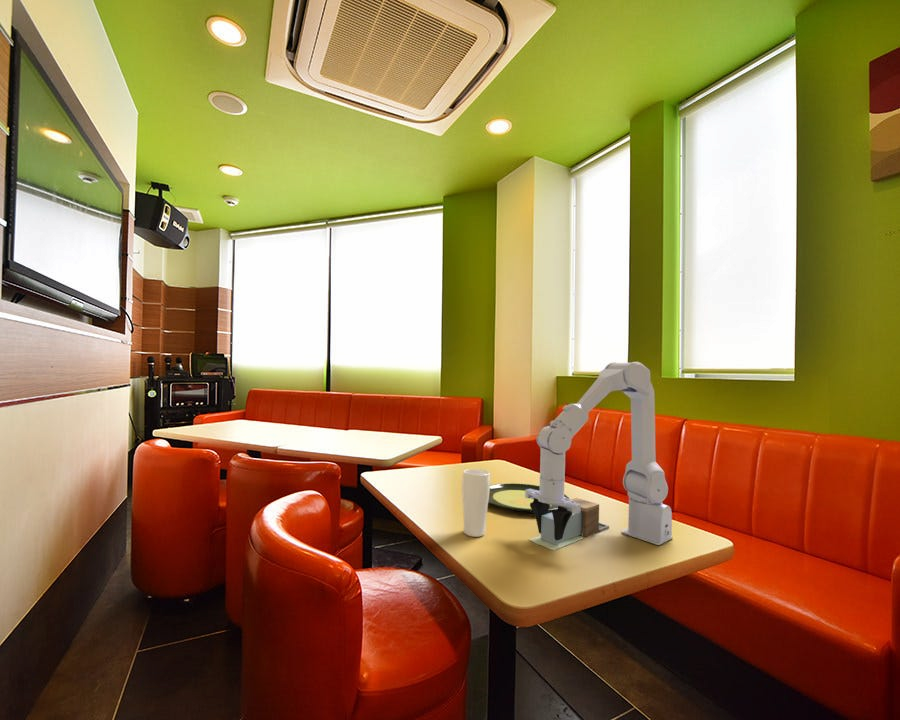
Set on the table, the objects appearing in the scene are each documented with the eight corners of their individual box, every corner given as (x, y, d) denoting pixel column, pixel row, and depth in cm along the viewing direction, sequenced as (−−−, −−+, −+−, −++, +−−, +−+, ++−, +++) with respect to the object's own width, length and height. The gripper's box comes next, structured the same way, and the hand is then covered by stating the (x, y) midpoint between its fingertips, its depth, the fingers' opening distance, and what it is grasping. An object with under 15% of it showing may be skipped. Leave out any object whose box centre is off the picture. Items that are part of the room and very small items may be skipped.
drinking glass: (465, 540, 98) (467, 475, 98) (457, 529, 104) (459, 468, 105) (492, 538, 99) (494, 474, 100) (482, 527, 106) (484, 468, 106)
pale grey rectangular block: (583, 533, 104) (584, 511, 104) (554, 544, 96) (555, 520, 96) (570, 528, 107) (570, 506, 107) (540, 538, 99) (541, 515, 99)
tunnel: (598, 532, 106) (599, 504, 106) (585, 537, 102) (586, 508, 102) (575, 524, 111) (576, 497, 111) (562, 529, 107) (563, 501, 107)
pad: (583, 538, 101) (583, 537, 101) (553, 550, 93) (553, 549, 93) (559, 529, 106) (559, 528, 106) (529, 540, 99) (529, 539, 99)
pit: (609, 528, 109) (609, 525, 109) (600, 531, 106) (600, 529, 106) (585, 520, 114) (585, 518, 114) (576, 523, 111) (576, 521, 111)
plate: (576, 523, 112) (576, 513, 113) (473, 513, 117) (474, 504, 117) (564, 494, 140) (564, 486, 140) (481, 487, 145) (482, 480, 145)
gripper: (517, 473, 102) (515, 529, 101) (568, 487, 91) (566, 550, 90) (536, 470, 106) (534, 523, 106) (586, 483, 95) (584, 543, 95)
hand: (550, 535), depth 98 cm, fingers closed on pale grey rectangular block, 4 cm apart
